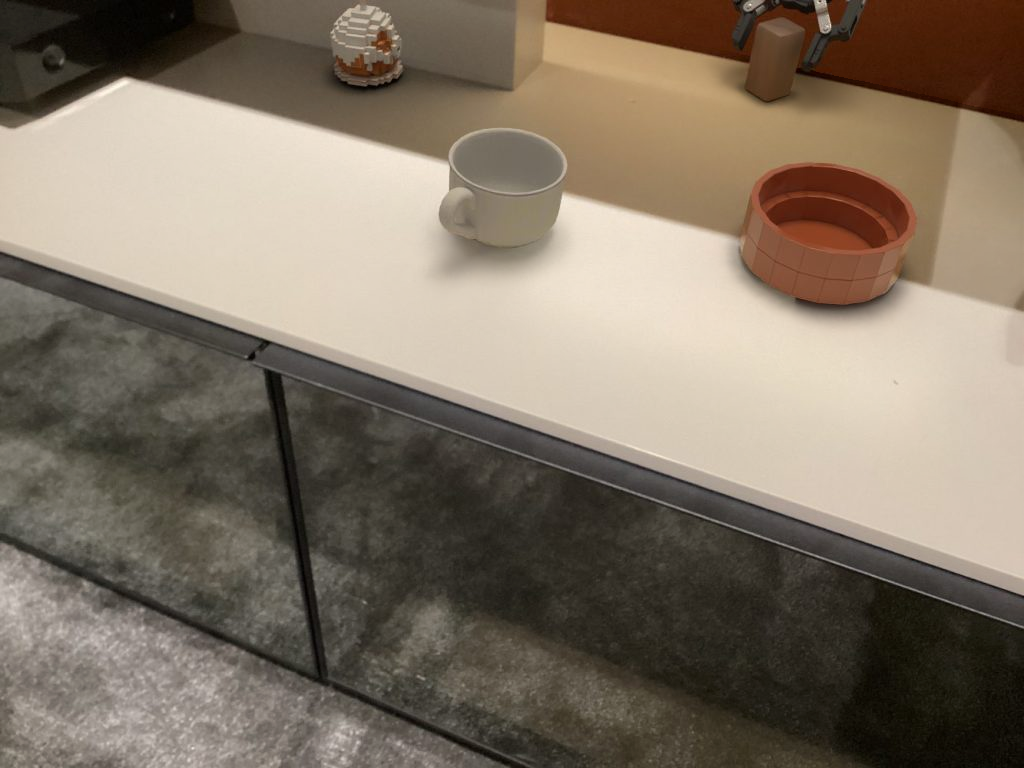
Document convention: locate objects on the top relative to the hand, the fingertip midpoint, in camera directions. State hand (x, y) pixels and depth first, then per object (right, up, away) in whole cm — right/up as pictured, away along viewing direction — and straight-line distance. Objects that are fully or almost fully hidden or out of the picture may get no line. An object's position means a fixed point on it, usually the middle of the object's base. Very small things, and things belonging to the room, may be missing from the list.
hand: (770, 58), depth 109 cm
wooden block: (+1, -3, +4) cm, 5 cm away
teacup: (-31, -23, -17) cm, 42 cm away
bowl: (-1, -25, -19) cm, 32 cm away
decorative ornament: (-46, 0, +5) cm, 46 cm away
